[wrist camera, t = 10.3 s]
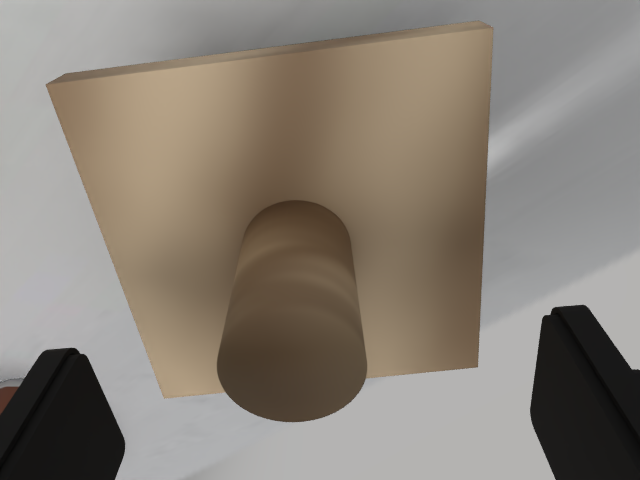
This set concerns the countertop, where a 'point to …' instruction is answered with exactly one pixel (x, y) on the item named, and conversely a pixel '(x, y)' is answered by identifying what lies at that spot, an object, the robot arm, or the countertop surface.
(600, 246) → the countertop surface
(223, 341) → the lid
